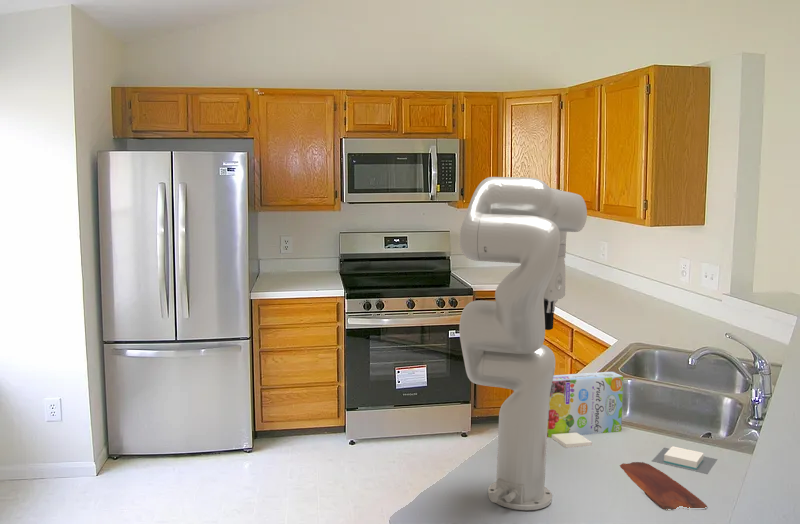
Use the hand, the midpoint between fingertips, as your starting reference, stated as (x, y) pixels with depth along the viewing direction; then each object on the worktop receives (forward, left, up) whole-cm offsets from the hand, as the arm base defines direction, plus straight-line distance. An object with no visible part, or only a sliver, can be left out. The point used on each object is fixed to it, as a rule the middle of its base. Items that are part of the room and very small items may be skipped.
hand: (545, 328), depth 167 cm
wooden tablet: (-3, -28, -30) cm, 41 cm away
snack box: (+18, -3, -29) cm, 34 cm away
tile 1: (+9, -5, -30) cm, 31 cm away
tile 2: (+16, -30, -28) cm, 44 cm away
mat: (+14, -30, -29) cm, 44 cm away
